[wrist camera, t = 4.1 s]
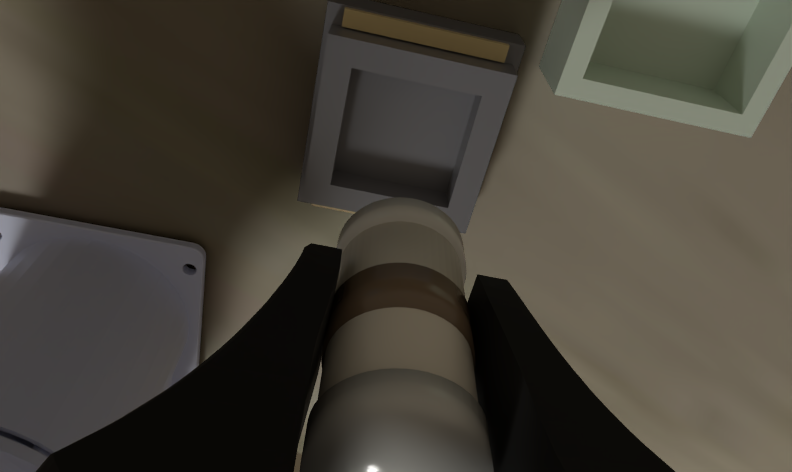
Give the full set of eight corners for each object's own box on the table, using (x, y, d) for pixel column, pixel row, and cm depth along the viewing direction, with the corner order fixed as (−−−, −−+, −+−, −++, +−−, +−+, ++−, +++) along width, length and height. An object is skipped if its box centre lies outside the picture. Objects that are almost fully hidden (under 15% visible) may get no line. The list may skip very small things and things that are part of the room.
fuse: (445, 311, 15) (464, 545, 10) (328, 290, 15) (288, 520, 10) (478, 211, 13) (520, 429, 9) (349, 185, 13) (314, 396, 8)
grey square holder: (461, 215, 23) (466, 249, 21) (302, 183, 22) (292, 216, 20) (519, 34, 19) (531, 56, 17) (332, -9, 19) (324, 9, 17)
